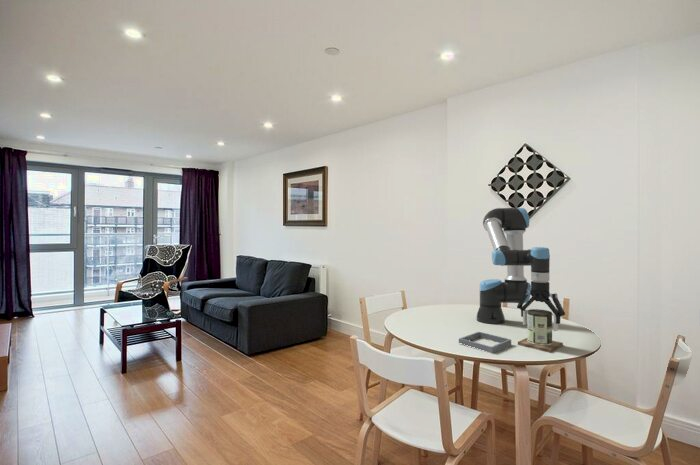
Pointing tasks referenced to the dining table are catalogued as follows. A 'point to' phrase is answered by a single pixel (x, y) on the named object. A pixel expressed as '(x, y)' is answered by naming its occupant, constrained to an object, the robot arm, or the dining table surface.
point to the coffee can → (539, 327)
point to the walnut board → (539, 347)
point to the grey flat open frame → (503, 343)
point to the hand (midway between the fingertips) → (540, 327)
